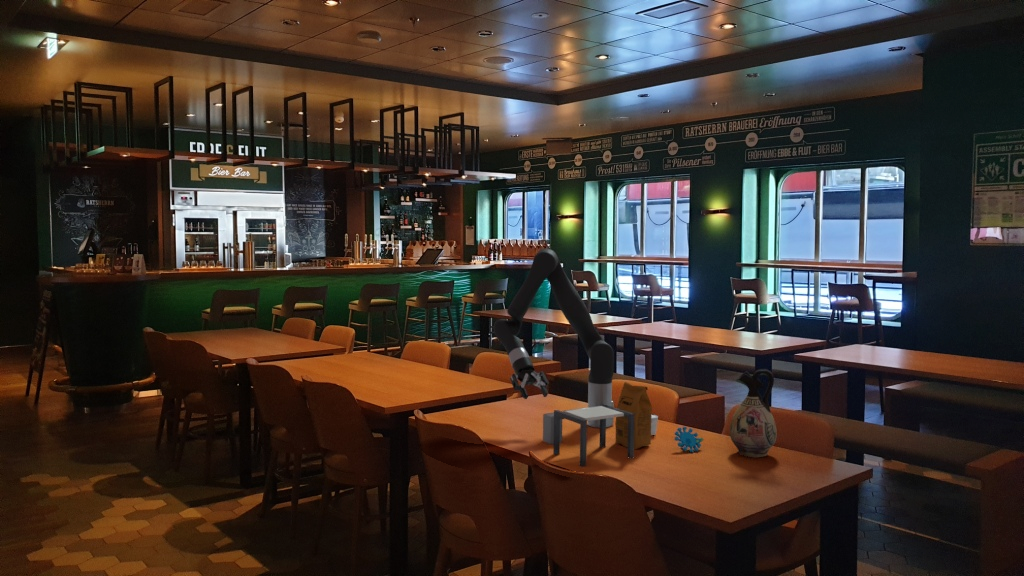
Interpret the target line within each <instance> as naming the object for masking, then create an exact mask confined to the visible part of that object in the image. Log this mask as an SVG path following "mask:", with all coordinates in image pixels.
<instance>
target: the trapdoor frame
mask: <svg viewBox="0 0 1024 576" xmlns="http://www.w3.org/2000/svg"><path fill="white" fill-rule="evenodd" d="M600 406H603V407H606V408H609V409H612V410H616V411H619V412H622V413H624V417H627V418H628V447H626V449H627V450H626V452H627V453H626V454H627V455H626V457H629V458H628V459H630V458H631V459H634V458H635V455H634V454H635V452H634V451H635V449H634V415H635V414H634V413H630V412H627V411H624V410H621V409H617V407H615V406H614V407H611V406H608V405H604V404H602V405H600ZM553 413H554V444H552V445H553V447H552V448H553V451H552V453H553V455H554V456H557V455H558V456H559V455H560V445H561V443H560V419H562V420H568V421H570V422H573V423H576V424H579V425H580V426H579V427H580V428H579V429H580V430H579V432H580V433H579V466H580V467H587V444H588V443H587V442H588V441H587V440H588V436H587V434H588V431H587V430H588V421H587V420H585V419H582V418H579V417H576V416H574V415H571V414H568V413H565V412H563V410H560V409H554V410H553ZM606 436H607V427H606V419H600V428H599V447H600V448H602V447H603V448H606V442H607V441H606ZM633 457H634V458H633Z"/></svg>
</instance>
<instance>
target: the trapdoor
mask: <svg viewBox="0 0 1024 576" xmlns="http://www.w3.org/2000/svg"><path fill="white" fill-rule="evenodd" d="M562 412H565V413H568V414H571V415H574V416H576V417H579V418H582V419H585V420H587V422H588V421H591V420H598V419H606V418H613V419H614V418H616V417H621V416H624V413H622V412H619V411H616V410H612V409H609V408H606V407H603V406H597V407H589V408H588V407H584V408H583V407H582V408H575V409H574V408H573V409H567V410H562Z"/></svg>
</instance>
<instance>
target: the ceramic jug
mask: <svg viewBox="0 0 1024 576" xmlns="http://www.w3.org/2000/svg"><path fill="white" fill-rule="evenodd" d="M759 376H765V377H767V378H768V384H767V387H766V390H765V392H764V393H763V396H762V395H761V393H760V390H759V389H762V388H764V387H765V385H764V383H763V381H761V379H759ZM735 381H736V382H737V383H739V384H742V385H744V386H745V387H747V389H748V392H747V395H746V396H745V398H744V399H743V400H742V402H741V403H740V404H739V406H738V407H737V409H736V410H735V412H734V414H733V416H732V419H731V421H730V425H729V437H730V439H731V441H732V443H733V445H734V446H735V447H736V449H737V453H738V454H739V455H740V454H741V455H740V456H743V455H744V457H747V456H748V457H749V458H763V457H766V456H768V452H769V450H770V449H771V448H772V447H773V446H774V445H775V444H776V440H777V436H778V435H777V433H778V432H777V431H778V430H777V425H776V421H775V418H774V416H773V414H772V413H771V408H770V404H769V398H770V395H771V392H772V389H773V388H774V383H775V376H774V374H773V373H772V371H771V370H769V369H767V368H761V369H757V370H755V372H754V373H753V374H752V375H751V374H750V372H748V370H747V371H746V370H745V372H743V373H742V374H740V375H739V376H738V377H737V378H736V380H735Z"/></svg>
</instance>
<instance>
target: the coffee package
mask: <svg viewBox="0 0 1024 576" xmlns="http://www.w3.org/2000/svg"><path fill="white" fill-rule="evenodd" d="M622 385H623V386H622V388H621V392H620V396H619V399H618V403H617V405H616V406H617V407H616V408H617V409H621V410H624V411H627V412H630V413H634V414H635V415H634V450H638V449H639V448H642V447H647V446H650V445H651V444H652V441H651V438H652V436H651V414H652V411H653V407H652V406H653V405H652V403H651V400H650V398H649V396H648V392H647V391H648V386H645V385H632V384H630V383H629V382H628V381H625V382H624V383H623V384H622ZM614 423H615V424H614V425H615V440H614V441H615V444H616V443H617V444H618V445H622V447H624V446H625V447H624V448H627V447H628V418H627V417H624V416H621V417H615V422H614Z"/></svg>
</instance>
